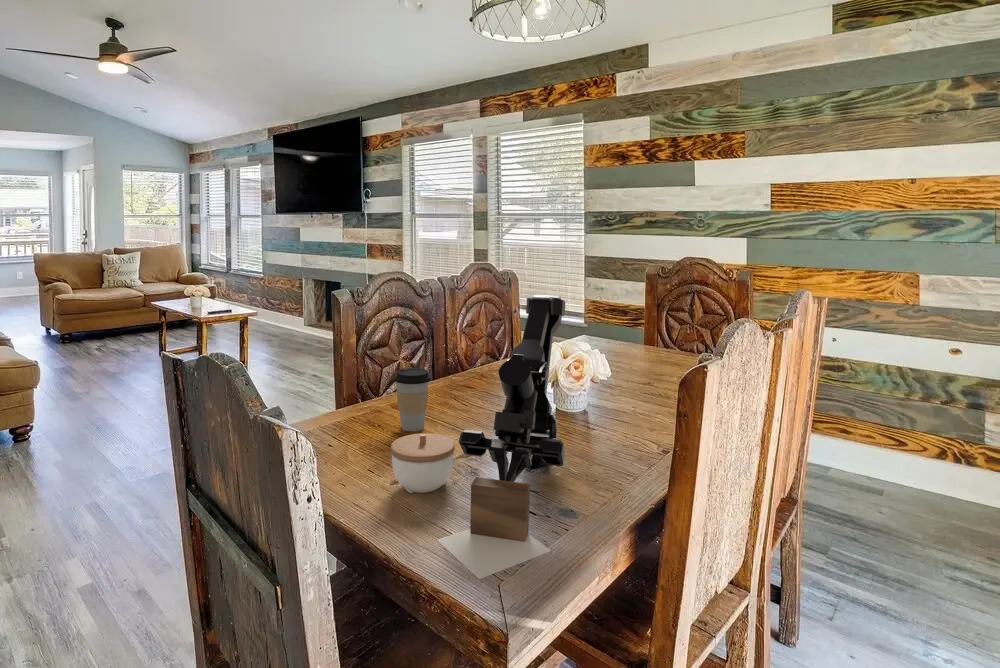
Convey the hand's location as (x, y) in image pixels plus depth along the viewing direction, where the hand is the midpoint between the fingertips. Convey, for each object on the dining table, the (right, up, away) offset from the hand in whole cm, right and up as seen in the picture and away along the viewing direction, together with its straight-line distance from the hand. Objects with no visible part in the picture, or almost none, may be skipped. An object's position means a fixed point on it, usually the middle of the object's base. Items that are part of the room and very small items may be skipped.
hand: (503, 492), depth 101 cm
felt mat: (-2, -8, -5) cm, 9 cm away
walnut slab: (-1, -7, -1) cm, 7 cm away
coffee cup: (-23, +3, +50) cm, 56 cm away
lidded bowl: (-16, -4, +17) cm, 24 cm away
